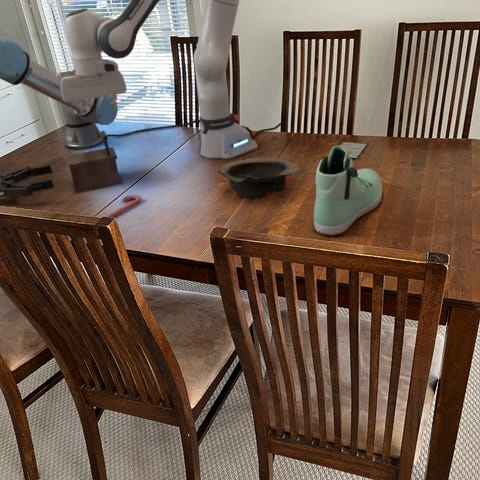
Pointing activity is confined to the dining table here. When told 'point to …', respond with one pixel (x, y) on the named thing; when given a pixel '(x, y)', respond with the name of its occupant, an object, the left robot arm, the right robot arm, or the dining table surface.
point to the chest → (95, 175)
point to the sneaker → (343, 192)
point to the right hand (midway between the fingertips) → (98, 111)
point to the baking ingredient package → (353, 148)
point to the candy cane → (126, 205)
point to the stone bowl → (257, 176)
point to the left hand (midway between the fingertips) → (52, 175)
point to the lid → (93, 155)
